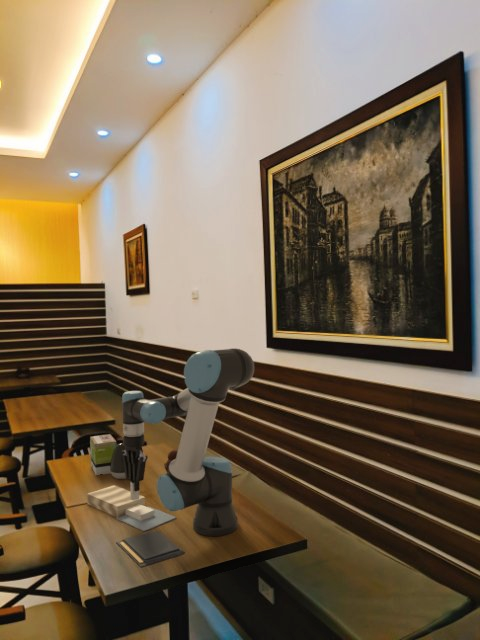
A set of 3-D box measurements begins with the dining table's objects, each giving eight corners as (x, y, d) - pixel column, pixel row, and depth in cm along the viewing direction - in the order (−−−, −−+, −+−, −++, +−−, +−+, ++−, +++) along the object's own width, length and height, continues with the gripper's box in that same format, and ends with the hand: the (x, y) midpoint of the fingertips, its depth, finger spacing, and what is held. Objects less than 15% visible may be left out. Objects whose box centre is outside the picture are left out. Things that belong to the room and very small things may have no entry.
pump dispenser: (136, 473, 228) (136, 440, 228) (129, 481, 218) (129, 446, 218) (115, 473, 229) (114, 440, 229) (106, 481, 219) (106, 446, 219)
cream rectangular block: (154, 515, 180) (154, 509, 180) (140, 520, 175) (140, 515, 175) (139, 509, 186) (138, 503, 186) (125, 514, 181) (125, 508, 181)
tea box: (90, 466, 240) (89, 435, 239) (111, 463, 244) (111, 433, 244) (95, 476, 226) (94, 443, 226) (117, 472, 230) (117, 440, 230)
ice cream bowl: (166, 492, 204) (165, 455, 204) (163, 483, 215) (162, 448, 215) (192, 489, 207) (191, 453, 207) (188, 480, 218) (187, 446, 217)
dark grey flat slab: (186, 549, 152) (138, 564, 144) (186, 556, 152) (138, 570, 144) (159, 526, 169) (115, 538, 160) (159, 532, 169) (115, 544, 161)
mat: (176, 518, 178) (176, 517, 178) (144, 531, 168) (144, 530, 168) (148, 507, 189) (148, 506, 189) (116, 519, 178) (116, 517, 178)
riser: (145, 507, 188) (144, 497, 188) (117, 517, 179) (117, 506, 179) (114, 495, 202) (114, 485, 202) (87, 504, 193) (87, 493, 193)
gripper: (114, 433, 184) (115, 497, 184) (136, 439, 175) (137, 506, 175) (131, 429, 189) (132, 492, 190) (153, 434, 180) (154, 500, 181)
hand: (134, 499), depth 182 cm, fingers closed
